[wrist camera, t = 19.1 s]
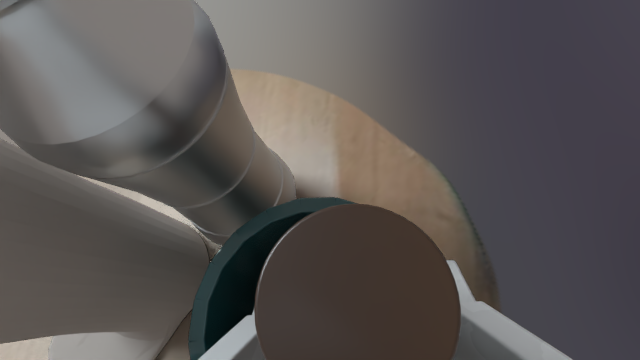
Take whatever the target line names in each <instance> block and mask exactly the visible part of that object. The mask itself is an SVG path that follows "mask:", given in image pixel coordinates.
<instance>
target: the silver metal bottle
mask: <svg viewBox="0 0 640 360" xmlns="http://www.w3.org/2000/svg"><path fill="white" fill-rule="evenodd" d="M0 129H1V130H2V131H3V132H4V133H5V134H6V135H7V136H9V137H10V138H11V139H12V140H13V141H14V142H15V143H16V144H17V145H18V146H19V147H20V148H21V149H23V150H24V151H25V152H26V153H28V154H29V155H31V156H32V157H34V158H35V159H37V160H39V161H41V162H43V163H46V164H49V165H52V166H54V167H57V168H59V169H62V170H64V171H67V172H70V173H73V174H76V175H80V176H83V177H88V178H91V179H94V180H98V181H101V182H105V183H108V184H111V185H115V186H118V187H122V188H125V189H129V190H132V191H136V192H138V193H141V194H143V195H145V196H147V197H150V198H152V199H154V200H157V201H160V202H162V203H164V204H166V205H168V206H171V207H173V208H174V209H176V210H177V211H178V212H180V213H181V214H182V215H184V216H185V217H186V218H188V219H189V220H190V221H191V222H192V223H193V224H194V226H195V227H196V228H197V229H198V230H199V231H200V232H201V233H203V234H204V235H205V236H206V237H207V238H208V239H210V240H211V241H213V242H215V243H216V244H219V245H222V246H223V245H224V244H225V242H226V241H227V240H228V239H229V237H230V236H231V235H232V234H233V233H234V232H236V230H237V229H238V228H240V227H241V226H243V225H244V224H245V223H247V222H248V221H250V220H251V219H252V218H254V217H255V216H257V215H258V214H260V213H261V212H262V211H264V210H266V209H268V208H271V207H274V206H277V205H280V204H283V203H286V202H289V201H292V200H295V199H296V187H295V181H294V177H293V175H292V173H291V171H290V169H289V167H288V166H287V165H286V164H285V162H284V161H283V160H282V159H281V158H280V157H279V156H278V155H277V154H276V153H275V152H273V151H272V150H271V149H270V148H268V147H267V146H266V145H265V143H264V142H263V141H262V140H261V138H260V137H259V136H258V135H257V134H256V132H255V131H254V129H253V127H252V125H251V123H250V121H249V119H248V117H247V114H246V112H245V110H244V108H243V106H242V104H241V102H240V99H239V96H238V93H237V90H236V87H235V84H234V81H233V78H232V75H231V72H230V69H229V66H228V63H227V60H226V57H225V55H224V50H223V48H222V45H221V43H220V41H219V39H218V36H217V34H216V31H215V29H214V27H213V25H212V23H211V21H210V18H209V16H208V15H207V14H206V13H205V12H204V10H203V9H202V8H201V7H200V6H199V5H198V4H197V3H196V2H195V1H194V0H0Z"/></svg>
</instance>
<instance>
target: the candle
mask: <svg viewBox="0 0 640 360" xmlns="http://www.w3.org/2000/svg"><path fill="white" fill-rule="evenodd" d="M208 265H209V257H208V252H207V249H206V246H205V244H204V242H203V240H202V238H201V237H200V235H199V234H198V233H197V232H196V231H195V230H194V229H193V228H191V227H189V226H188V225H186V224H184V223H182V222H180V221H178V220H175V219H173V218H171V217H169V216H167V215H165V214H163V213H160V212H158V211H156V210H154V209H152V208H150V207H148V206H145V205H143V204H141V203H139V202H137V201H135V200H132V199H130V198H128V197H125V196H123V195H121V194H118V193H116V192H114V191H112V190H109V189H107V188H104V187H102V186H99V185H97V184H94V183H92V182H90V181H88V180H85V179H83V178H81V177H79V176H77V175H75V174H72V173H70V172H67V171H64V170H62V169H59V168H57V167H54V166H52V165H49V164H46V163H43V162H41V161H39V160H37V159H35V158H34V157H32V156H31V155H29V154H28V153H26V152H25V151H24V150H23V149H21V148H19V147H17V146H15V145H13V144H11V143H9V142H7V141H5V140H3V139H1V138H0V344H2V343H9V342H16V341H22V340H28V339H35V338H41V337H48V336H53V338H52V341H51V344H50V347H49V360H154V359H155V358H156V357H157V355H158V354H159V353H160V351H161V350H162V349H163V347H164V346H165V345H166V343H167V342H168V341H169V339H170V338H171V336H172V335H173V333H174V332H175V330H176V329H177V327H178V326H179V324H180V323H181V322H182V320H183V319H184V318H185V316H186V315H187V314H188V313H189V312H190V311H191V309H192V308H193V302H194V299H195V295H196V293H197V291H198V289H199V286H200V284H201V282H202V279H203V277H204V275H205V272H206V270H207V268H208Z"/></svg>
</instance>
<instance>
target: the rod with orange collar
mask: <svg viewBox="0 0 640 360" xmlns="http://www.w3.org/2000/svg"><path fill="white" fill-rule="evenodd" d="M254 315H255V327H256V332H257V338H258V341H259V344H260V347H261V351H262V353H263V355H264V358H265V360H453V359H454V357H455V354H456V351H457V347H458V343H459V338H460V330H461V306H460V299H459V293H458V289H457V286H456V282H455V279H454V276H453V274H452V272H451V269H450V267H449V265H448V263H447V261H446V260H445V258H444V256H443V254H442V253H441V251H440V250H439V249H438V247H437V246H436V245H435V243H434V242H433V241H432V240H431V239H430V238H429V237H428V236H427V235H426V234H425V233H424V232H423V231H422V230H421V229H420V228H419V227H417V226H416V225H415V224H413V223H412V222H410V221H409V220H407V219H406V218H404V217H402V216H400V215H398V214H396V213H394V212H392V211H389V210H386V209H383V208H381V207H376V206H371V205H364V204H342V205H337V206H331V207H328V208H325V209H321V210H319V211H316V212H314V213H312V214H310V215H308V216H306V217H305V218H303V219H301V220H300V221H298V222H297V223H296V224H294V225H293V226H292V227H291V228H289V229H288V230H287V231H286V232H285V233H284V234H283V235H282V236H281V238H280V239H279V240H278V241H277V243H276V244H275V245H274V247H273V248H272V250H271V252H270V253H269V255H268V257H267V258H266V261H265V263H264V265H263V267H262V270H261V273H260V276H259V279H258V282H257V288H256V293H255V305H254Z"/></svg>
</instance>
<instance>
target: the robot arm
mask: <svg viewBox="0 0 640 360" xmlns="http://www.w3.org/2000/svg"><path fill="white" fill-rule="evenodd" d="M446 261H447V263H448V265H449V267H450V269H451V272H452V274H453V276H454V279H455V282H456V286H457V289H458V293H459V299H460V306H461V330H460V338H459V343H458V347H457V351H456V354H455V357H454V359H453V360H573V359H571V358H570V357H568V356H567V355H565V354H564V353H562V352H560V351H559V350H557V349H556V348H554V347H553V346H551V345H549V344H548V343H546V342H545V341H543V340H542V339H540V338H539V337H537V336H535V335H534V334H532V333H531V332H529V331H528V330H526V329H525V328H523V327H521V326H519V325H518V324H517V323H515V322H514V321H512V320H511V319H509V318H507V317H506V316H504V315H503V314H501V313H500V312H498V311H496V310H495V309H493V308H492V307H490V306H489V305H487V304H486V303H484V302H482V301H478V302H476V300H475V298H474V296H473V294H472V292H471V290H470V288H469V286H468V284H467V282H466V280H465V279H464V277H463V275H462V273H461V271H460V269H459V267H458V265H457V263H456V261H454V260H446ZM198 360H265V358H264V355H263V353H262V351H261V347H260V344H259V341H258V338H257V332H256V327H255V315H254V310H253V313H252V315H247V316H246V317H245V318H243V319H242V320H241V321H240V322H239V323H238V324H237V325H236V326H235V327H233V328H232V329H231V330H230V331H229V332H228V333H227V334H226V335H225V336H223V337H222V338H221V339H220V340H219V341H218V342H217V343H216V344H215V345H213V346H212V347H211V348H210V349H209V350H208V351H207V352H206V353H205V354H203V355H202V356H201V357H200V358H199V359H198Z"/></svg>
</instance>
